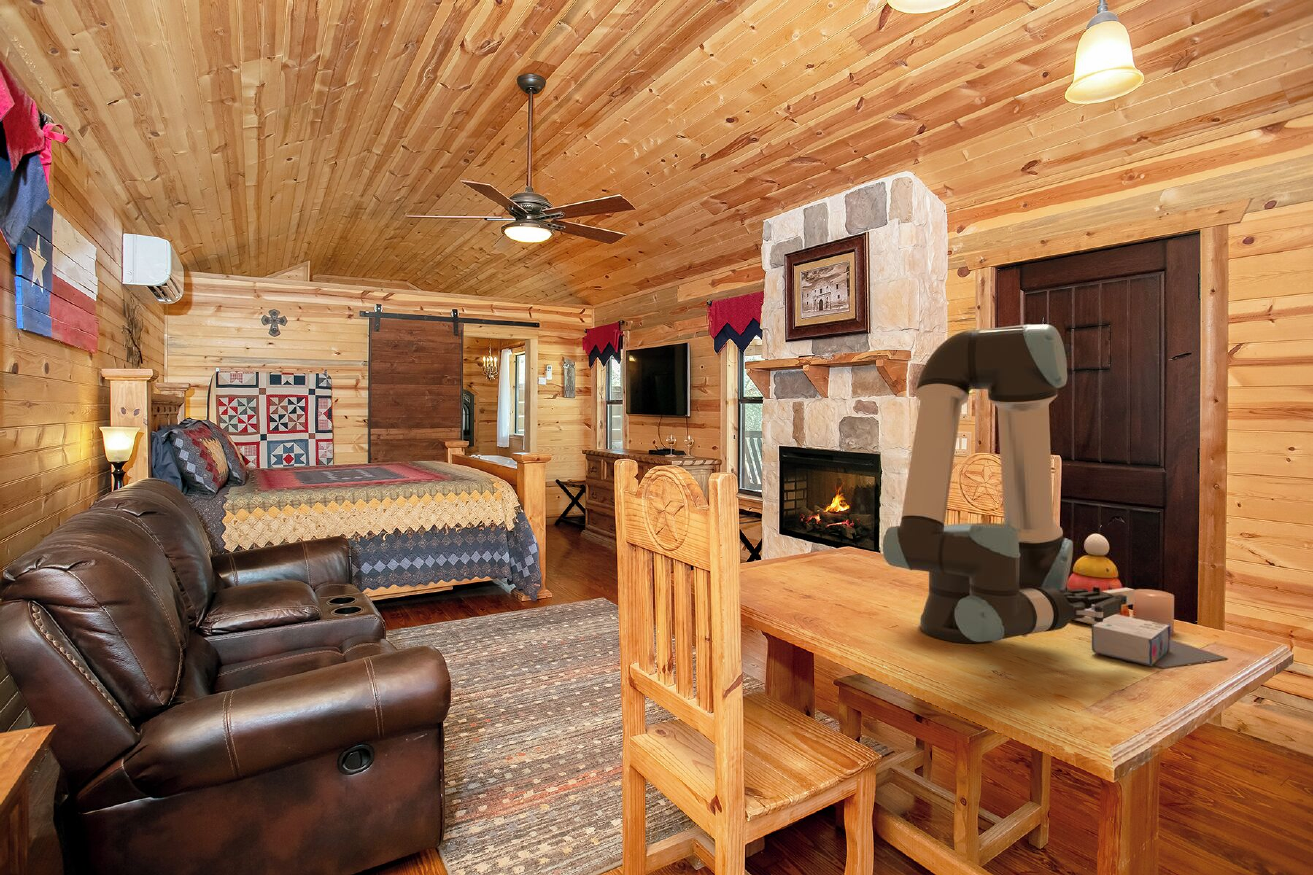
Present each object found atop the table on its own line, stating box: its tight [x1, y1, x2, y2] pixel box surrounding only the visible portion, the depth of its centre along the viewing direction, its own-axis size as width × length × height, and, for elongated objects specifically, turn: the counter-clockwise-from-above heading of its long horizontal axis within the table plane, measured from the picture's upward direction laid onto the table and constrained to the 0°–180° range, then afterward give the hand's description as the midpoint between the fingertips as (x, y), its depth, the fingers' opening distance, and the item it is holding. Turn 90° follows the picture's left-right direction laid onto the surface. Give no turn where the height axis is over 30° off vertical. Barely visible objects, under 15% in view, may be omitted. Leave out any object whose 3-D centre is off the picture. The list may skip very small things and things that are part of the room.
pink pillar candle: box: [1132, 588, 1175, 636], centre depth 141 cm, size 7×7×8 cm
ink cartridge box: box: [1091, 614, 1171, 667], centre depth 129 cm, size 10×6×14 cm
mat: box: [1152, 638, 1229, 670], centre depth 128 cm, size 12×16×1 cm
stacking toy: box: [1066, 533, 1133, 626], centre depth 149 cm, size 14×14×20 cm
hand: (1129, 595), depth 124 cm, fingers closed
